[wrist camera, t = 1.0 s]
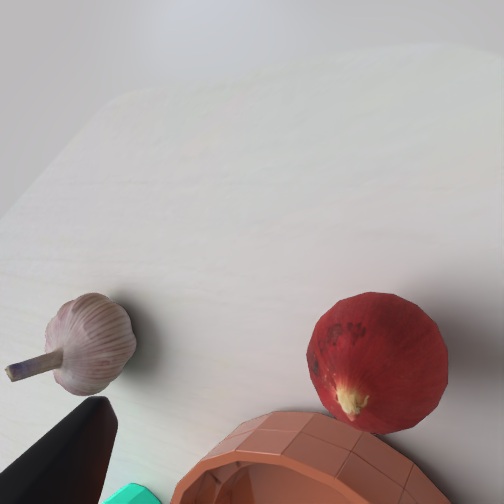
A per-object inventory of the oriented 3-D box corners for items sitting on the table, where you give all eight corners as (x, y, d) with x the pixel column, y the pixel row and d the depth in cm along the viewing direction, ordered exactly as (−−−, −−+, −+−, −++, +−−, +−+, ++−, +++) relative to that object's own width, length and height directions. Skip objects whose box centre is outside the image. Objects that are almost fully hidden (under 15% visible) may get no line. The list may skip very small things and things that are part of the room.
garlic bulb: (82, 367, 36) (-18, 411, 29) (76, 281, 35) (-31, 307, 28) (149, 390, 32) (51, 446, 26) (145, 294, 31) (41, 326, 24)
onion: (327, 355, 24) (253, 423, 18) (360, 260, 22) (291, 296, 16) (432, 409, 22) (392, 515, 15) (479, 307, 20) (457, 375, 13)
